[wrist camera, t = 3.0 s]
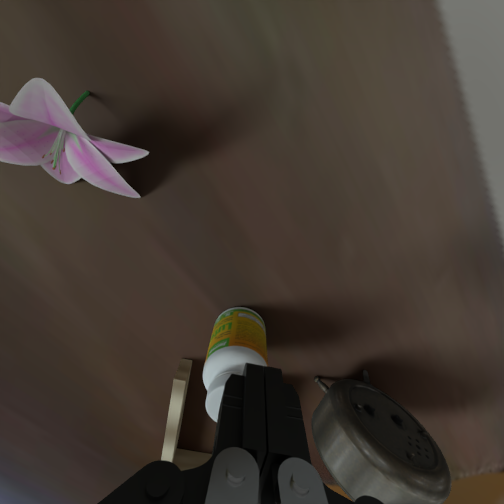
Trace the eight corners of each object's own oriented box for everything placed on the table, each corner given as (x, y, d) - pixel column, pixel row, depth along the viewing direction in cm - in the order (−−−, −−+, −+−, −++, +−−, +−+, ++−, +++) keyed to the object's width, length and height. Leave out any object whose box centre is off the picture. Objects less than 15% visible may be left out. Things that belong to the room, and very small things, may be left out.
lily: (4, 133, 24) (-81, 199, 17) (-1, -31, 17) (-149, -20, 10) (142, 191, 29) (116, 259, 22) (184, 85, 22) (164, 141, 15)
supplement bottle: (230, 296, 27) (217, 364, 18) (275, 320, 28) (285, 397, 19) (205, 335, 29) (182, 416, 20) (249, 357, 30) (246, 444, 20)
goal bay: (181, 358, 30) (172, 382, 26) (278, 376, 30) (281, 401, 27) (165, 454, 34) (156, 484, 31) (250, 468, 35) (249, 499, 32)
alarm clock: (299, 383, 31) (343, 606, 15) (322, 347, 29) (399, 555, 14) (380, 415, 32) (498, 650, 17) (407, 382, 30) (564, 607, 15)
